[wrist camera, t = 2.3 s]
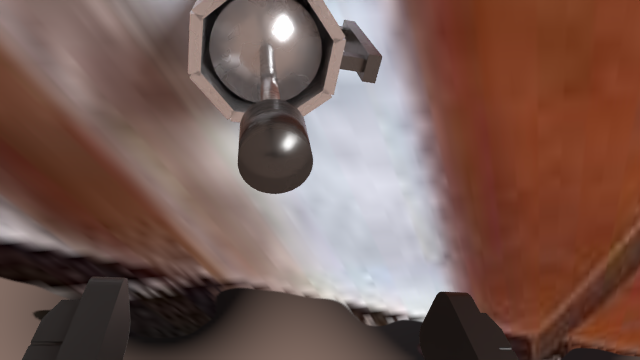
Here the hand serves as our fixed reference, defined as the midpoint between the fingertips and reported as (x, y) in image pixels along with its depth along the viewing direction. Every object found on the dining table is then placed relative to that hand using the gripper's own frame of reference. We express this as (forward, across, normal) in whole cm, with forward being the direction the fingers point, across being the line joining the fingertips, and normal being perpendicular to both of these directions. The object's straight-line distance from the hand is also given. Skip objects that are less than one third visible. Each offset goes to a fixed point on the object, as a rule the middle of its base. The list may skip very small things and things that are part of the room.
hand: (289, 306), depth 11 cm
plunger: (+23, 0, 0) cm, 23 cm away
